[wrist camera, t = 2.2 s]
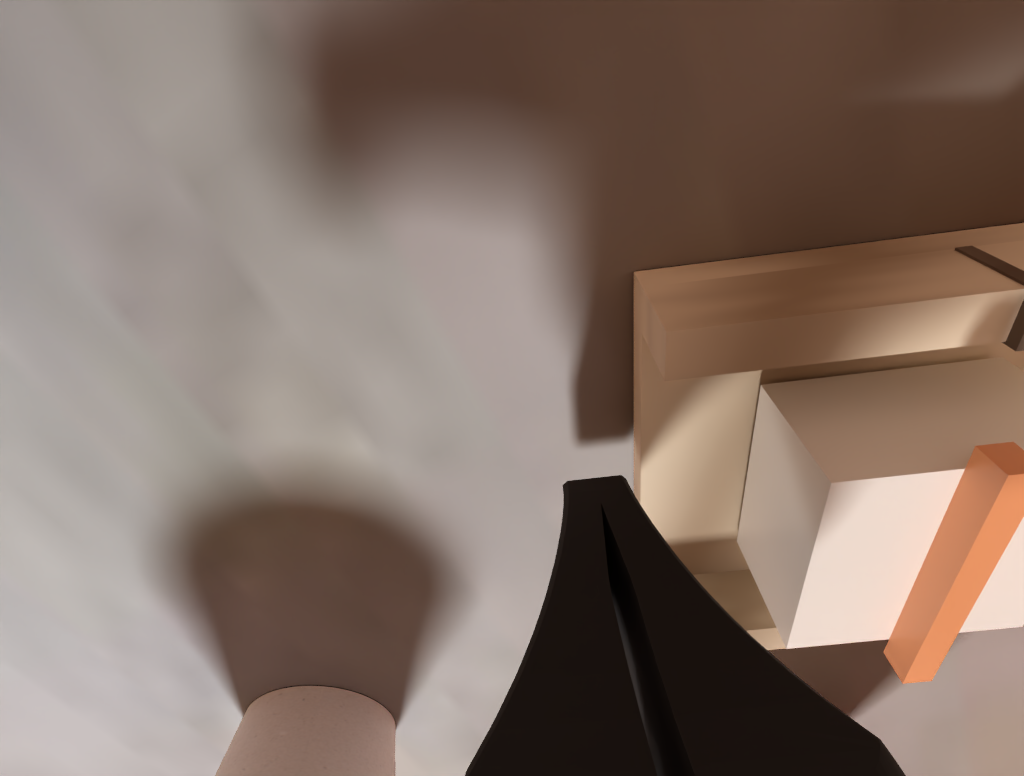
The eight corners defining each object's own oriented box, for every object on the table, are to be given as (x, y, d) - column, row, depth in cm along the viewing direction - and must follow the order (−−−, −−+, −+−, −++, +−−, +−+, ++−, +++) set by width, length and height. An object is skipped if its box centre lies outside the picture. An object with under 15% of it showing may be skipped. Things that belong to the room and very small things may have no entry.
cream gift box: (1011, 336, 11) (1201, 454, 8) (925, 534, 15) (1038, 671, 12) (764, 364, 12) (860, 490, 9) (734, 553, 15) (797, 692, 12)
